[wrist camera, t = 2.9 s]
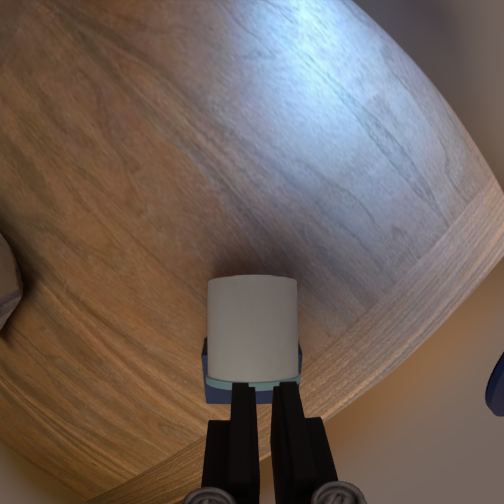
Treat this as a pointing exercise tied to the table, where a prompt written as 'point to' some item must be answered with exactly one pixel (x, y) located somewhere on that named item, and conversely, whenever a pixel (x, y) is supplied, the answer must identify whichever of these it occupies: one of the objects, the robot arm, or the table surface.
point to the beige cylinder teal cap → (252, 331)
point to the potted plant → (8, 281)
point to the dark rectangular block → (224, 395)
